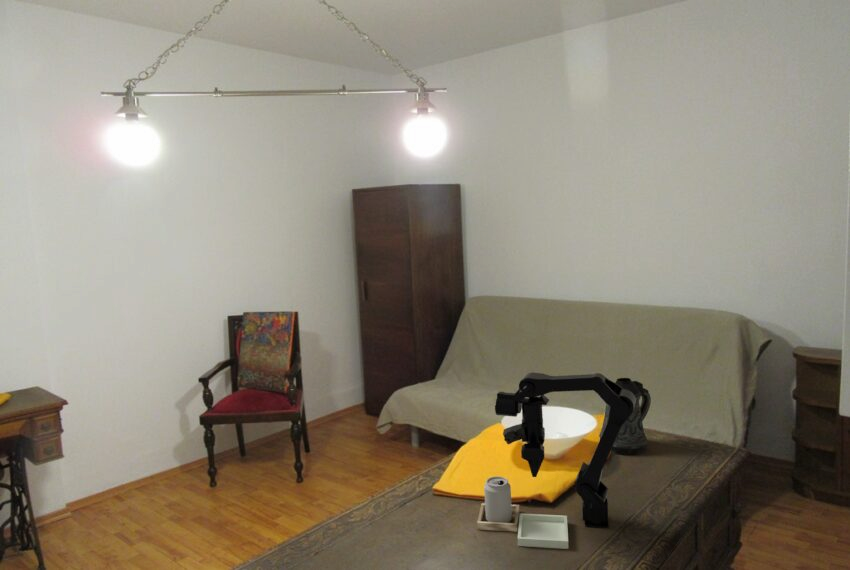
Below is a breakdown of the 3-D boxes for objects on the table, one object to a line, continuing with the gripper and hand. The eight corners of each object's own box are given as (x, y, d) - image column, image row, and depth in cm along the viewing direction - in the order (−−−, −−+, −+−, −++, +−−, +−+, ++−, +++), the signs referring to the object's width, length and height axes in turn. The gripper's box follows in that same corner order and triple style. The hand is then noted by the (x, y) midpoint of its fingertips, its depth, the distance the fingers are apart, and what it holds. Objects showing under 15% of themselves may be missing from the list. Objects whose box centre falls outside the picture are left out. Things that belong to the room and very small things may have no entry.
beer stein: (591, 449, 214) (589, 382, 211) (613, 432, 228) (611, 369, 225) (637, 459, 203) (636, 389, 200) (656, 441, 218) (655, 375, 215)
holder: (519, 511, 173) (519, 504, 173) (517, 531, 162) (517, 524, 162) (481, 509, 176) (481, 503, 175) (477, 529, 165) (476, 522, 164)
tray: (567, 522, 165) (566, 515, 165) (568, 548, 153) (568, 541, 153) (520, 520, 168) (519, 513, 168) (517, 545, 156) (517, 538, 155)
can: (511, 527, 165) (509, 487, 163) (484, 526, 166) (482, 486, 165) (512, 514, 172) (511, 475, 170) (487, 513, 173) (485, 474, 172)
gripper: (506, 406, 180) (508, 455, 181) (501, 429, 161) (504, 483, 163) (543, 406, 177) (545, 456, 179) (543, 429, 159) (545, 484, 161)
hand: (534, 469), depth 171 cm, fingers open, 9 cm apart
